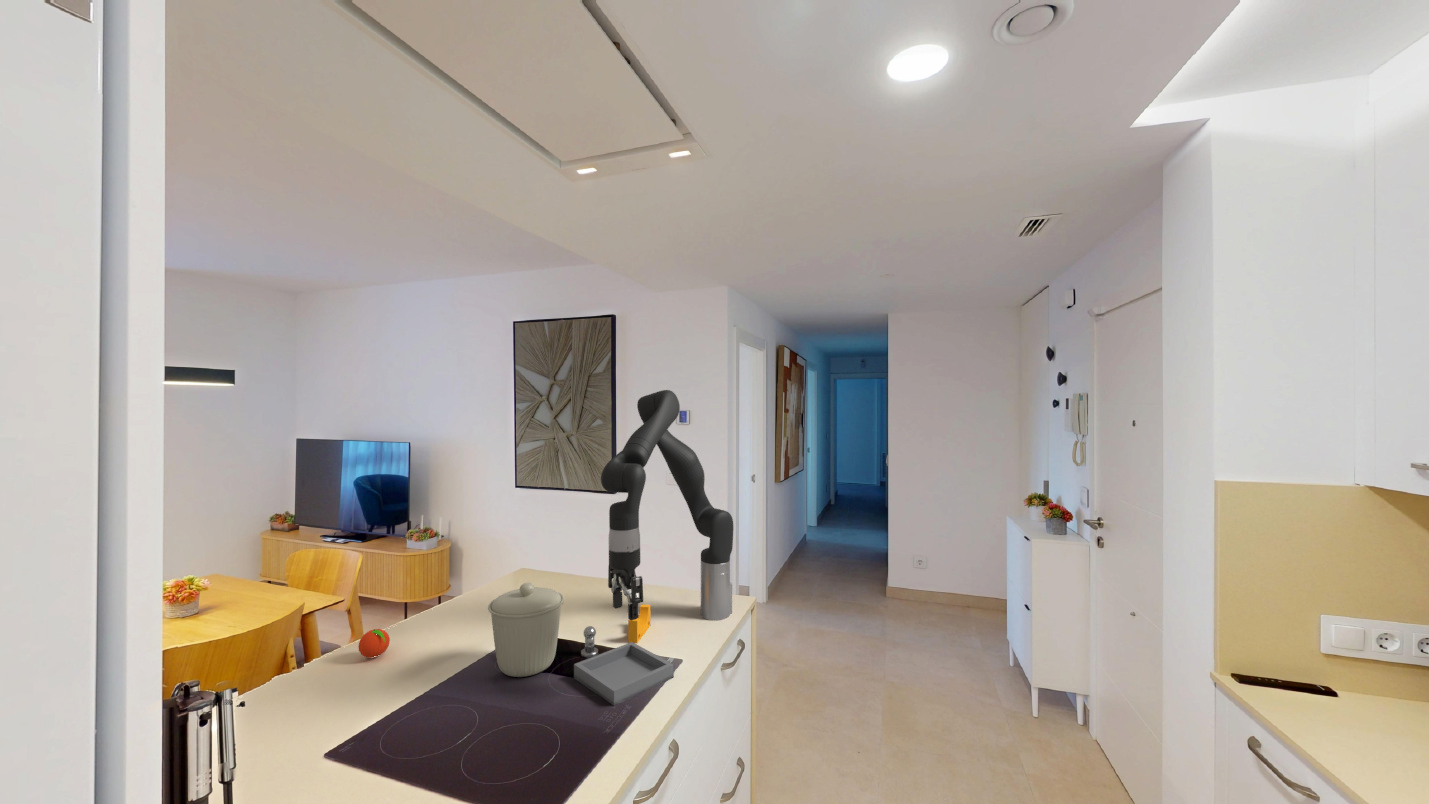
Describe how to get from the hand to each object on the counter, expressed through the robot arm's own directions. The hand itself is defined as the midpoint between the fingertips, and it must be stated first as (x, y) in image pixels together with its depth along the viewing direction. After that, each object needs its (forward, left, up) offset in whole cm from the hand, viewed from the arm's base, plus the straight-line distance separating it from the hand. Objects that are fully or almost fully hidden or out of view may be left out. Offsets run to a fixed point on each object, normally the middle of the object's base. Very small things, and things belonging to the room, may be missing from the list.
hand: (625, 613), depth 128 cm
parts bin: (0, 0, -16) cm, 16 cm away
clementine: (+40, -55, -16) cm, 70 cm away
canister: (+14, -22, -16) cm, 31 cm away
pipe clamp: (-17, -19, -16) cm, 30 cm away
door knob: (-1, -17, -16) cm, 23 cm away
